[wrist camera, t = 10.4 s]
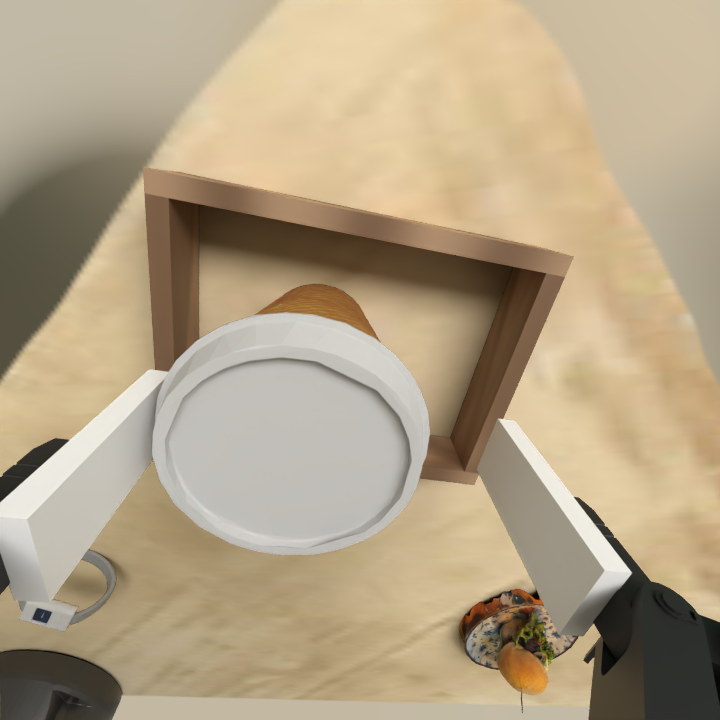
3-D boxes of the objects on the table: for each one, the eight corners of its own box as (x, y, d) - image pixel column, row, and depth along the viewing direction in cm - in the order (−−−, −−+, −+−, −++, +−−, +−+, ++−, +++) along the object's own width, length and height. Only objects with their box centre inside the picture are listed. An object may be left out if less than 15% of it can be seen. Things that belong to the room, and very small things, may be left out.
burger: (514, 661, 41) (547, 755, 34) (435, 632, 37) (454, 728, 31) (595, 607, 37) (652, 701, 30) (514, 570, 33) (556, 665, 27)
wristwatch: (132, 557, 30) (95, 620, 26) (122, 574, 31) (84, 639, 27) (56, 531, 29) (2, 594, 24) (48, 551, 30) (-5, 615, 25)
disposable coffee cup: (240, 389, 24) (150, 554, 13) (242, 243, 20) (115, 304, 9) (378, 405, 25) (404, 572, 14) (408, 269, 21) (475, 353, 10)
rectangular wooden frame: (184, 413, 24) (159, 446, 21) (178, 171, 18) (143, 167, 15) (458, 450, 27) (474, 485, 23) (538, 246, 20) (573, 256, 17)
